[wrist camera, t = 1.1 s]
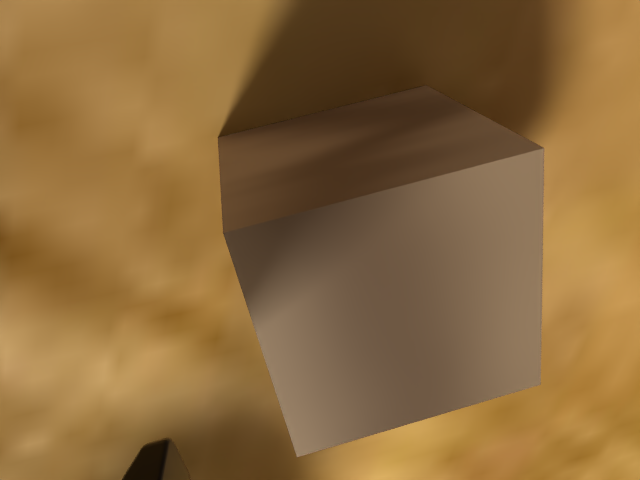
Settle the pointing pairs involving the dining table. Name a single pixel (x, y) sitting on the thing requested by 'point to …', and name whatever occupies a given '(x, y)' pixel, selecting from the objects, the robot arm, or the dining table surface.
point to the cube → (387, 261)
